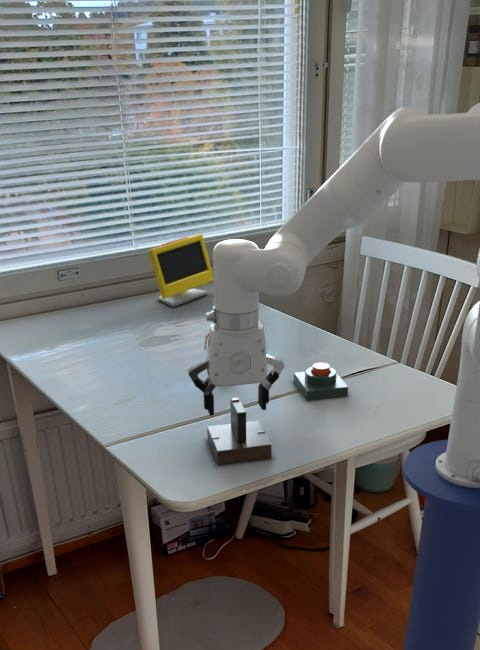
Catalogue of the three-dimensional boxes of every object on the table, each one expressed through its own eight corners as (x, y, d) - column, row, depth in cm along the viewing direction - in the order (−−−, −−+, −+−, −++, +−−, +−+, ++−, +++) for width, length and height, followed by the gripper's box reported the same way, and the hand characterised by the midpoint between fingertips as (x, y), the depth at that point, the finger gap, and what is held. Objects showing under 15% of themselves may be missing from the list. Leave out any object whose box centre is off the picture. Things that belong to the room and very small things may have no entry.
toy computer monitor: (166, 310, 211) (162, 250, 202) (146, 304, 215) (141, 245, 206) (215, 292, 224) (213, 234, 215) (195, 286, 228) (192, 230, 219)
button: (331, 375, 165) (332, 368, 164) (315, 377, 165) (315, 369, 164) (326, 369, 168) (326, 361, 167) (310, 371, 168) (310, 363, 167)
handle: (246, 441, 143) (246, 410, 139) (237, 442, 143) (237, 411, 139) (239, 427, 148) (238, 396, 144) (230, 428, 147) (230, 397, 144)
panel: (271, 459, 144) (272, 443, 142) (217, 465, 142) (217, 450, 140) (258, 434, 152) (258, 419, 150) (206, 440, 150) (206, 425, 148)
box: (347, 396, 165) (348, 378, 163) (306, 401, 164) (307, 383, 162) (332, 377, 173) (333, 360, 171) (293, 382, 172) (294, 364, 170)
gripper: (189, 329, 128) (193, 423, 138) (291, 321, 131) (287, 413, 141) (182, 314, 134) (186, 405, 144) (279, 306, 137) (276, 396, 147)
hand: (236, 409), depth 142 cm, fingers open, 9 cm apart
